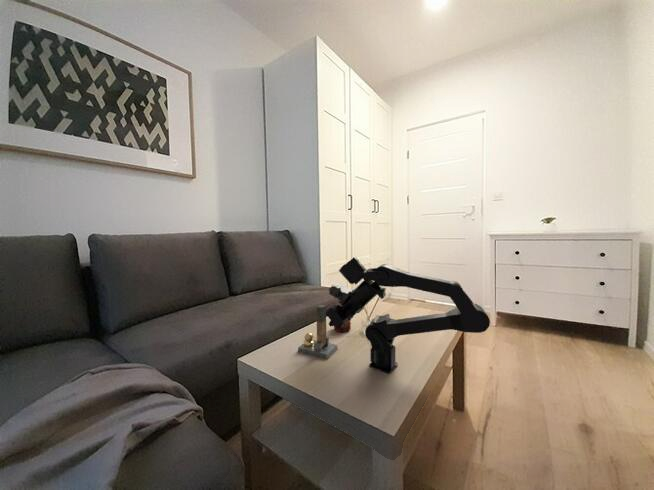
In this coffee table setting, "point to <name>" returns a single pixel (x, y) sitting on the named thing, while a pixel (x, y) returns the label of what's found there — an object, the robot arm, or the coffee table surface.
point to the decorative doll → (345, 326)
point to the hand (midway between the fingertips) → (329, 324)
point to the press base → (317, 347)
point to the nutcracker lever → (321, 324)
